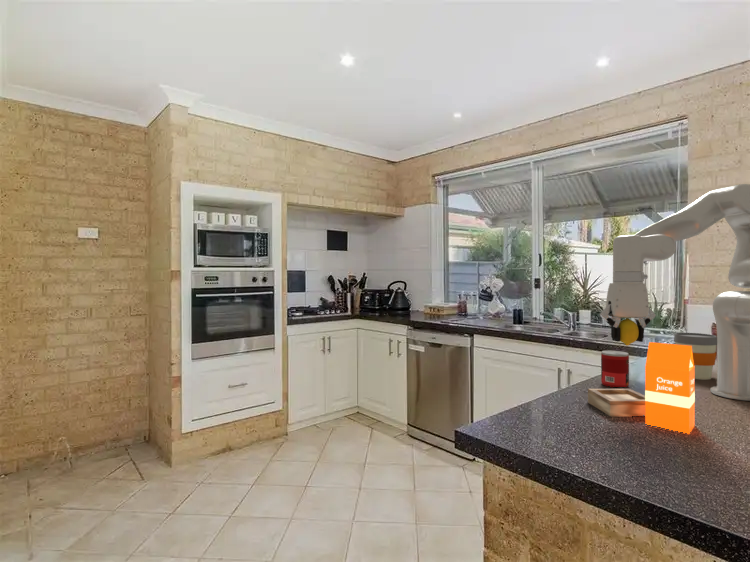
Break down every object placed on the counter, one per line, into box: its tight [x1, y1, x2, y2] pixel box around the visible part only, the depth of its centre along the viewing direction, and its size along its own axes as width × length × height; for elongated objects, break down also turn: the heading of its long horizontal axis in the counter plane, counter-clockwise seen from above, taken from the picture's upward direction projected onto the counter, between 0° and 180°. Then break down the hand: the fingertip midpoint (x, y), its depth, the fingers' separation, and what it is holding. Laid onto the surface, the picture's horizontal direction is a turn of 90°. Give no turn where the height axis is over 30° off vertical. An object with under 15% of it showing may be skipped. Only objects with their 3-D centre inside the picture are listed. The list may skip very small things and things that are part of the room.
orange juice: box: [644, 341, 696, 435], centre depth 101 cm, size 8×9×20 cm
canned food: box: [600, 350, 630, 388], centre depth 138 cm, size 8×8×11 cm
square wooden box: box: [587, 388, 645, 417], centre depth 114 cm, size 12×12×4 cm
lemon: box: [618, 318, 639, 347], centre depth 120 cm, size 6×6×8 cm
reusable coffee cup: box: [673, 332, 717, 380], centre depth 149 cm, size 12×13×15 cm
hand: (627, 340), depth 120 cm, fingers closed on lemon, 5 cm apart
